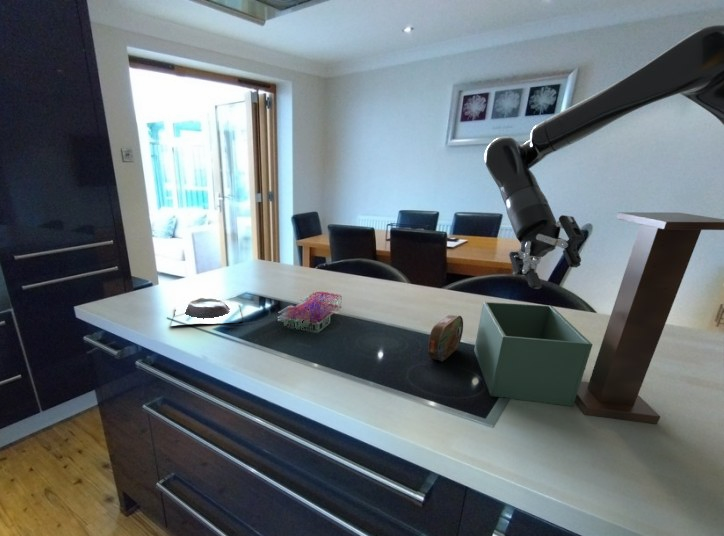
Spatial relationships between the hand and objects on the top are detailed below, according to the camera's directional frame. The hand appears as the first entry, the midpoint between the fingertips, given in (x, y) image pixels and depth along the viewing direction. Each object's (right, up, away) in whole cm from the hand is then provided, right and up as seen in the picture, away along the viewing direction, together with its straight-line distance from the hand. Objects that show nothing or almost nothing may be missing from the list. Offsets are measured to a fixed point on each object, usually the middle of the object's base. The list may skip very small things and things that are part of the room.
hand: (555, 277), depth 79 cm
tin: (-18, -16, +11) cm, 27 cm away
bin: (-8, -20, +1) cm, 21 cm away
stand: (+2, -24, -10) cm, 26 cm away
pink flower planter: (-45, -5, +39) cm, 60 cm away
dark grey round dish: (-78, -5, +41) cm, 89 cm away
